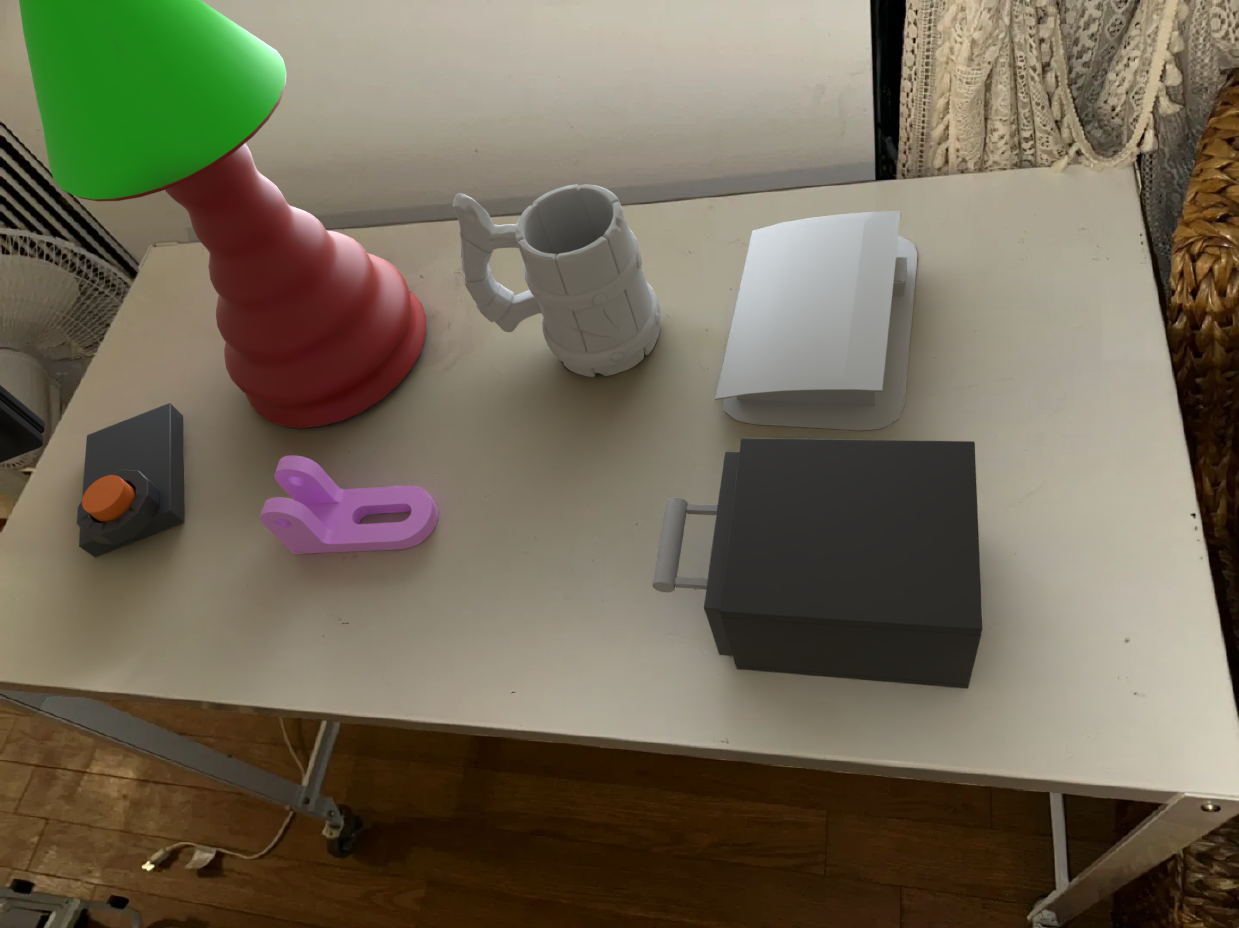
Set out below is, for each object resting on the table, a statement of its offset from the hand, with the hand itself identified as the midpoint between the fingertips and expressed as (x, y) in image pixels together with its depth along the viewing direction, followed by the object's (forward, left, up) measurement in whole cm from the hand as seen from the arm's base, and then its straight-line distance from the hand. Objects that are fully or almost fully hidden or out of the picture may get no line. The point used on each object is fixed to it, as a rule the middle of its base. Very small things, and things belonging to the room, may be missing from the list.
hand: (20, 444), depth 52 cm
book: (+52, -14, -29) cm, 61 cm away
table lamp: (+22, +24, -29) cm, 44 cm away
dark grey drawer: (+30, -29, -28) cm, 50 cm away
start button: (-3, +23, -25) cm, 34 cm away
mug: (+38, +4, -29) cm, 48 cm away
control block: (0, +27, -29) cm, 40 cm away
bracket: (+12, +4, -29) cm, 32 cm away
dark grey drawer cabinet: (+33, -32, -29) cm, 54 cm away
